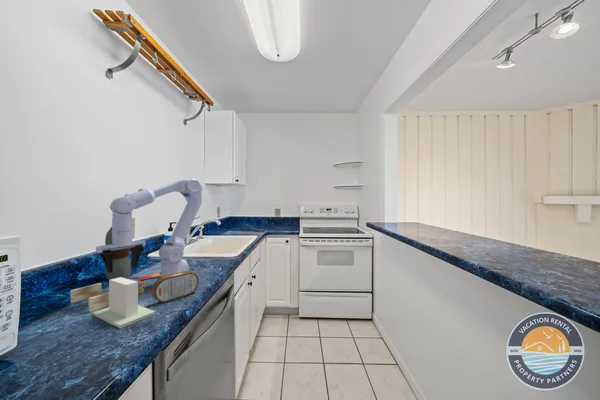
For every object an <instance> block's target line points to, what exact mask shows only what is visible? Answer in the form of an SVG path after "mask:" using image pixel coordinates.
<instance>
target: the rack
mask: <svg viewBox="0 0 600 400" xmlns="http://www.w3.org/2000/svg"><path fill="white" fill-rule="evenodd" d="M102 285H103V284H102V283H101V282H99V283H98V282H97V283H95V284H91V285H86V286H83V287H82V286H81V287H78V288H75V289H71V290H70V303H71V304H73V303H76V302H81V301H83V300H88V312H90V313H93V312H96V311H99V310H102V309H105V308H108V307H109V291H108V292H106V293H102V289H103V287H102Z"/></svg>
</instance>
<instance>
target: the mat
mask: <svg viewBox="0 0 600 400" xmlns="http://www.w3.org/2000/svg"><path fill="white" fill-rule="evenodd" d="M154 315H156V311H155V310H154V309H150V308H147V307H146V306H145V307H144V306H142V305H140V304H138V313H137V314H134V315H132V316H129V317H124V316H121V315H119V314H117V313H114V312H112V311H110V310H109V306H108V307H104V308H101V309H98V310H95V311H92V316H94V317H96V318H98V319H100V320H101V321H104V322H106V323H108V324H110V325H112V326H114V327H116V328H118V329H122V328H124V327H127V326H130V325H133V324H135V323H137V322H140V321H142V320H145V319H147V318H149V317H152V316H154Z"/></svg>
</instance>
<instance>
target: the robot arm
mask: <svg viewBox="0 0 600 400" xmlns="http://www.w3.org/2000/svg"><path fill="white" fill-rule="evenodd" d="M203 188H204V187H203V186H202V183H201V182H200V181H199V179H197V178H188V179H183V180H178V181H174V182H171V183H170V182H169V183H168V184H165V185H162V186H159V187H157V188H154V189H148V188H139V189H138V190H137V191H135V192H132V193H126V194H124V196H122V197H117V198H115V199H113V200H112V201H111V203H110V205H109V209H110V211H111V212H112V216H111V217H112V219H111V227H112V244H109V245H98V246H95V253H97V254H98V255H99V256H100V258H101V260H102V261H103V262H104V263H103V264H104V266H105V268H106V269H107V272H109V273H111V272H112V271H113V265H112V262H113V255H114V253H112V250H118V249H125V248H130V253H131V255H130V256H131V268H137V267H138V264H139V260H140V257H141V255H142V254H143V252H144V250H145V246H146V245H147V244H146V242H147V241H146V240H133V217H132V214H133V213H132V212H133V211H134V210H137V209H139V208H141V207H142V208H143V207H144V206H148V205H149V204H153V203H154V201H155V200H156V198H158V197H161V196H164V195H167V194H170V193H173V192H175V193H180V194H181V195H182V196H183V197H184V198H185V201H186V202H187V203H186V205H185V207H184V209H183V211H182V213H181V215H180V218H179V220H178V221H177V223H176V226H175V228H174V230H173V232H172V234H171V236H170V237H169V238H167V240H166V241H165V243H164V244H163V245H161V247H160V248H159V249H158V255H159V257H160V258H161V261H160V272H161V277H162V276H165V275H169V274H174V273H179V272H183V271H189V265H188V261H187V259H185V258H183V257H184V254H185V251H184V250H185V248H186V243H185V240H186V238H187V236H188V233H189V231H190V229H191V226H192V225H193V222H194V220H195V218H196V216H197V214H198V211H199V209H200V207H201V205H202V202H203V201H202V200H203V197H202V192H203ZM125 246H128V247H125ZM118 247H121V248H118ZM113 248H114V249H113Z"/></svg>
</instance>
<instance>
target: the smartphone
mask: <svg viewBox="0 0 600 400" xmlns="http://www.w3.org/2000/svg"><path fill="white" fill-rule="evenodd" d="M160 277H161V271H160V272H159V271H158V272H154V273H153V272H152V273H147V274H142V275H137V276H131V277H126V279H135V280H138V281H142V282H145V281H148V280H156V279H158V278H160ZM155 278H156V279H155ZM144 280H145V281H144Z"/></svg>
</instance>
